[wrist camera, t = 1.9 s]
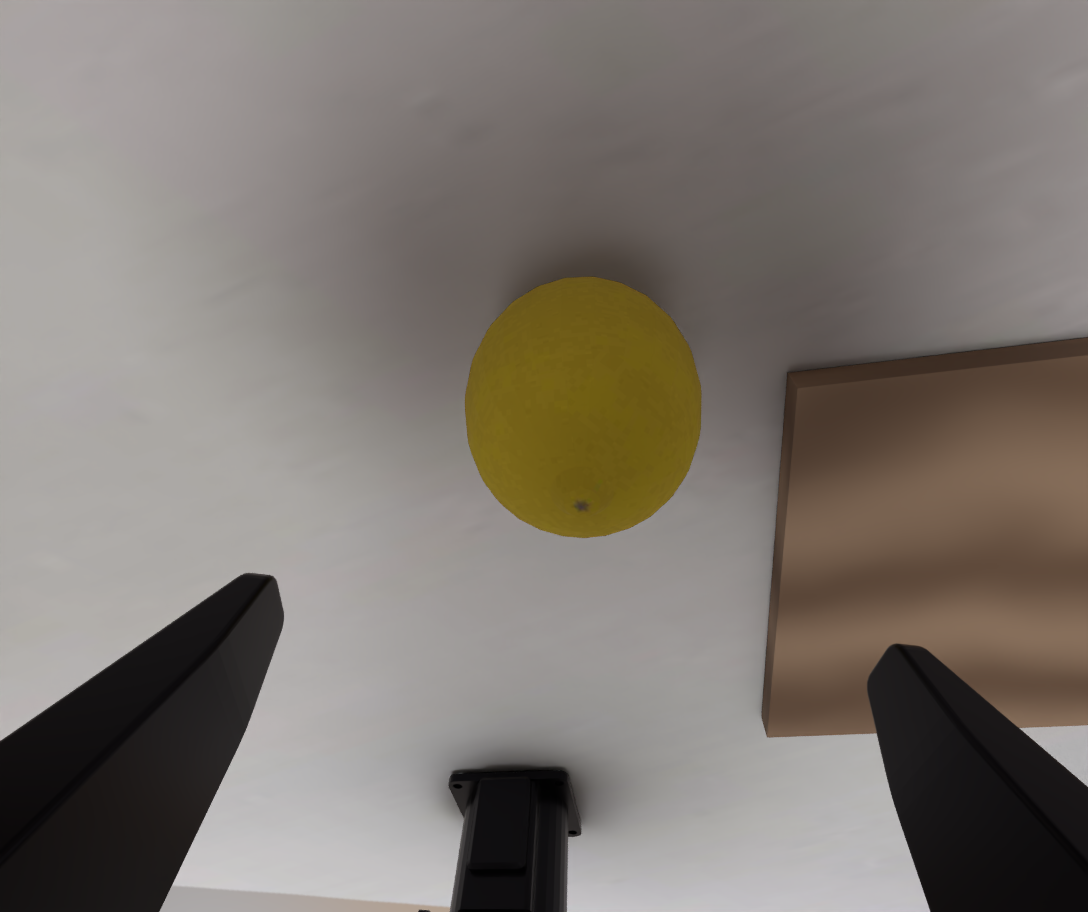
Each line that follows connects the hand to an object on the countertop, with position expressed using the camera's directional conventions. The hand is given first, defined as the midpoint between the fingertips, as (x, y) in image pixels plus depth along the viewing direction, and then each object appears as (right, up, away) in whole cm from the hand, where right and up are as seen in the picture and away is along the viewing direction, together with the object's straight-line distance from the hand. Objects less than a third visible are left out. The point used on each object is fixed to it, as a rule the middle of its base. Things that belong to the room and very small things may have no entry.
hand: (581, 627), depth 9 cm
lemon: (+1, +6, +9) cm, 11 cm away
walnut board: (+17, -1, +13) cm, 21 cm away
